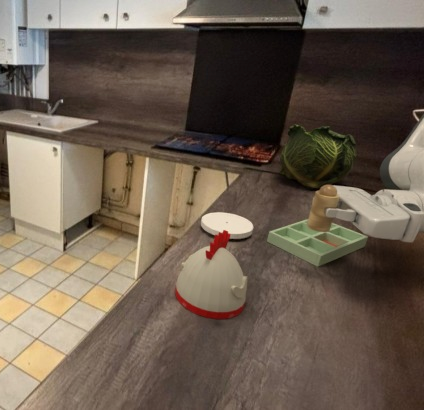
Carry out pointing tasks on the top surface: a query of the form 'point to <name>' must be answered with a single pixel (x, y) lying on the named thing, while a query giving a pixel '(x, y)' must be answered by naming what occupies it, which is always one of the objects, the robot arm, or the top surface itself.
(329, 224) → the beige toy figure
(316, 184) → the cabbage
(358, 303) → the top surface
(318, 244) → the grid
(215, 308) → the kitchen timer
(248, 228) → the plastic lid
